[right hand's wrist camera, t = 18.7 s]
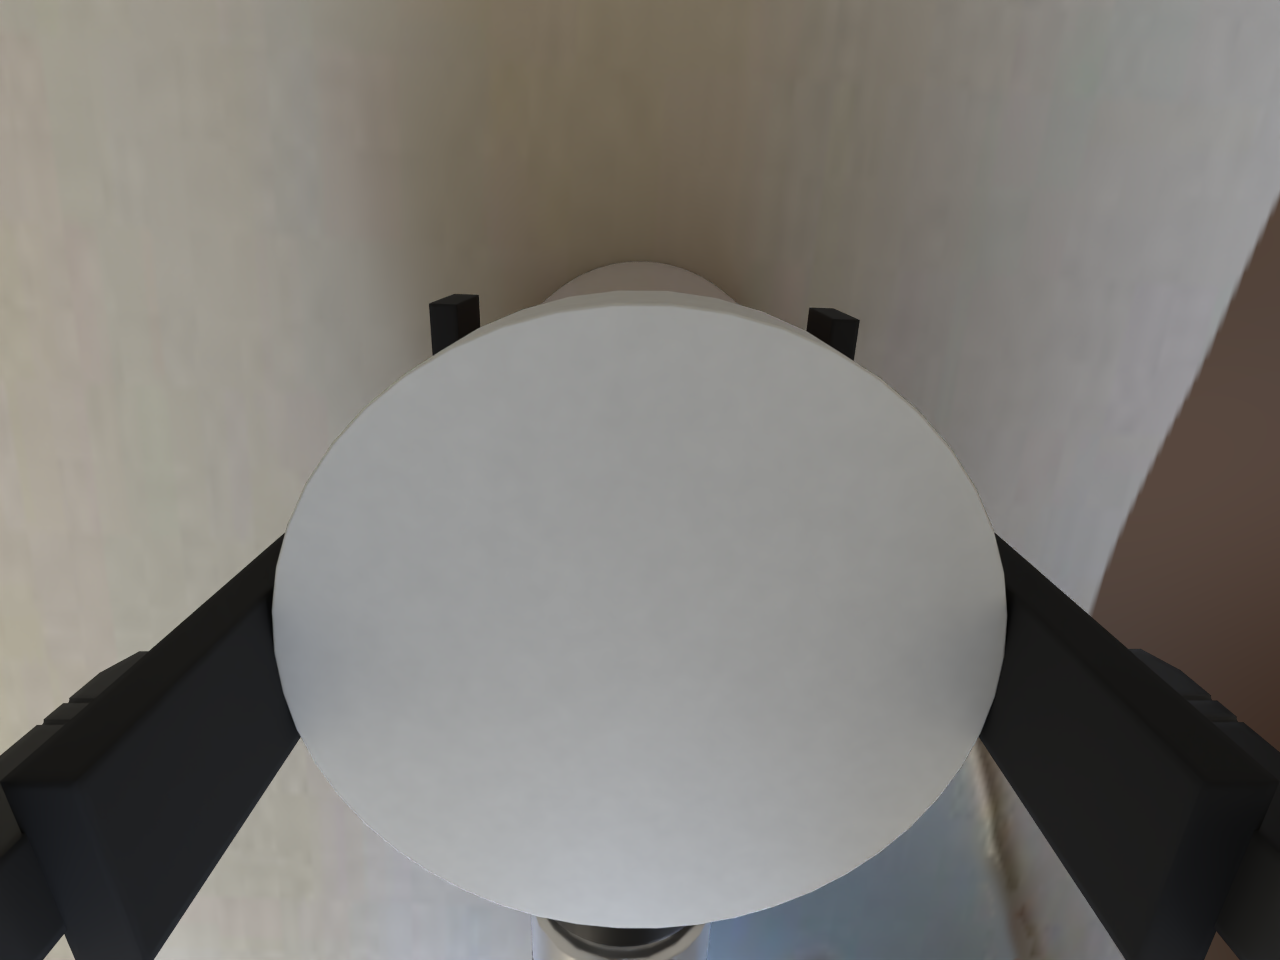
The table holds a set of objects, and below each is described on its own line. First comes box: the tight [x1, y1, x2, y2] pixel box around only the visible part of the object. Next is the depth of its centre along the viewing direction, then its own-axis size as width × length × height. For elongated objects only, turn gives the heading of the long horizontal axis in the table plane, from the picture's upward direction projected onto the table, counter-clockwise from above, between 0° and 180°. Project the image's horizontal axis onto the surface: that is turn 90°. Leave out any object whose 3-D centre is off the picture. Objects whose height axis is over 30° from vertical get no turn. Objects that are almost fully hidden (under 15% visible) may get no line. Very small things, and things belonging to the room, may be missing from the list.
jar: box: [540, 262, 739, 305], centre depth 19 cm, size 10×10×17 cm
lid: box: [272, 291, 1007, 928], centre depth 11 cm, size 11×11×2 cm
